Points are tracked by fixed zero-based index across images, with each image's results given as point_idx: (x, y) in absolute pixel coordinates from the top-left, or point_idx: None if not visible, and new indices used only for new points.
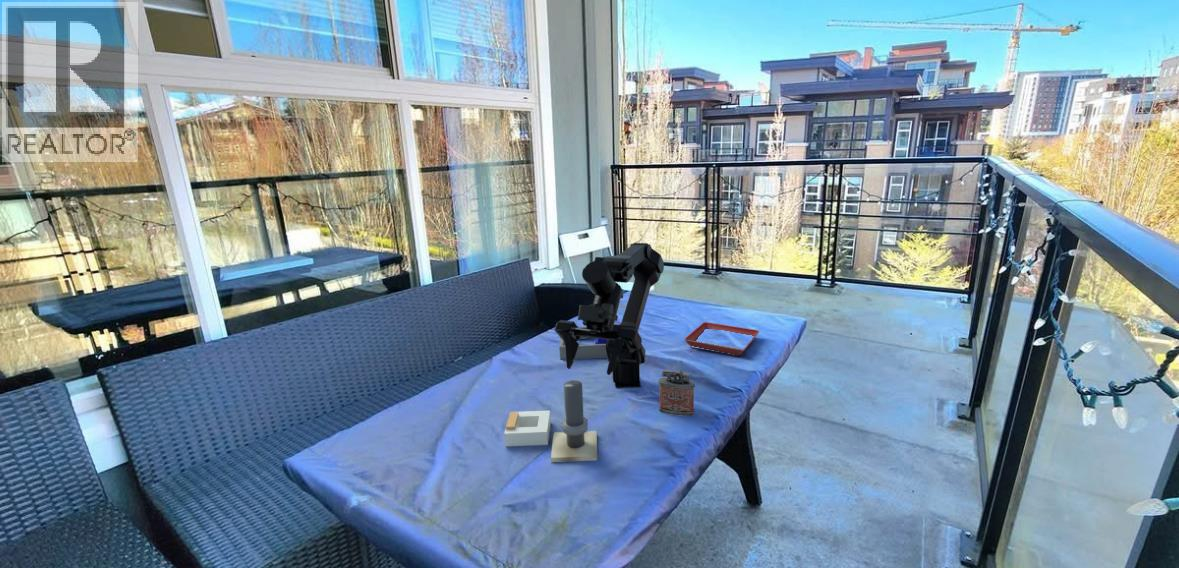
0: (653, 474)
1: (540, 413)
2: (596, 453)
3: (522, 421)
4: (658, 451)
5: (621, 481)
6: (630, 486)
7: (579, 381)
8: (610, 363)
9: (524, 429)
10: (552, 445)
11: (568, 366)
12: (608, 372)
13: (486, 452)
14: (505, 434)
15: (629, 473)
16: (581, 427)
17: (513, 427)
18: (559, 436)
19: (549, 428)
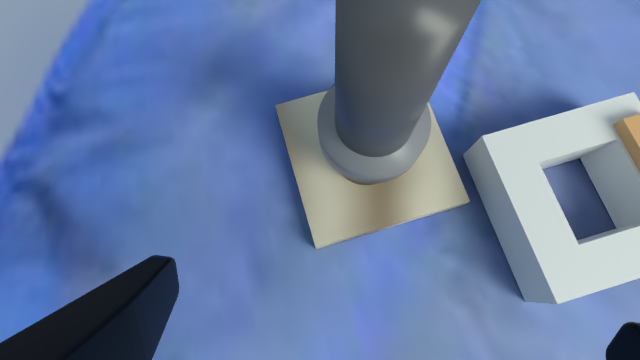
0: (108, 88)
1: (585, 266)
2: (279, 115)
3: (630, 226)
4: (91, 198)
5: (192, 44)
6: (167, 32)
7: (376, 32)
8: (80, 320)
9: (576, 131)
10: (438, 126)
11: (635, 328)
12: (152, 257)
13: (633, 76)
14: (626, 95)
15: (174, 78)
16: (331, 87)
17: (624, 120)
18: (438, 182)
19: (502, 235)
